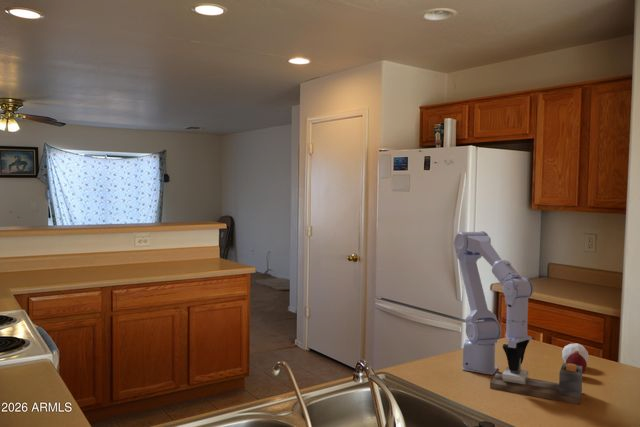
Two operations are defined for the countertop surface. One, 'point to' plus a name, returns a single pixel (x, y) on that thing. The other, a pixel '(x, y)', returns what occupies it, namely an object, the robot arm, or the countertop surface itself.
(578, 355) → the onion
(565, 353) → the ball
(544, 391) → the rail bed
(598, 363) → the countertop surface
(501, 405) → the countertop surface
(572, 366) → the brown egg
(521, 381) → the carriage
